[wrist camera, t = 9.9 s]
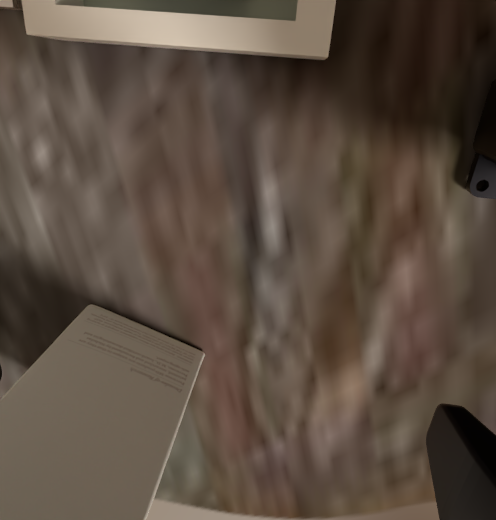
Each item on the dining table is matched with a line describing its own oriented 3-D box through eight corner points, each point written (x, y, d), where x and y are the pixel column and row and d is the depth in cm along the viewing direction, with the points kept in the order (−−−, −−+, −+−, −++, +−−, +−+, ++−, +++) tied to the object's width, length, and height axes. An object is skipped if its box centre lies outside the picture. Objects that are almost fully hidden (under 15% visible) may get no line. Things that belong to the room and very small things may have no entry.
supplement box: (88, 298, 22) (-135, 530, 11) (209, 351, 23) (118, 625, 11) (61, 386, 25) (-134, 639, 14) (168, 431, 26) (64, 709, 14)
